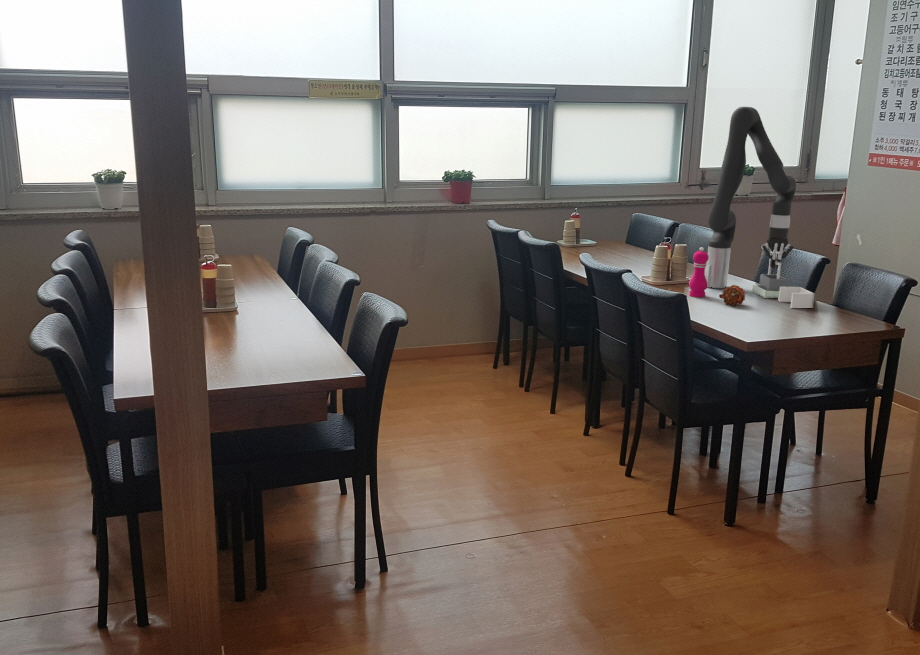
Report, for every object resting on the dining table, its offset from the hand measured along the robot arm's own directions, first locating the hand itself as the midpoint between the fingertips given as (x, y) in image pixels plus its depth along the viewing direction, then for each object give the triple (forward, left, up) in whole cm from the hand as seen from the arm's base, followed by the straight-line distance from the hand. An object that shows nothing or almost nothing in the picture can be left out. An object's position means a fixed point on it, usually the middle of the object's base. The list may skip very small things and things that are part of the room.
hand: (774, 268), depth 328 cm
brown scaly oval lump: (-23, -19, -12) cm, 32 cm away
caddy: (0, 0, -9) cm, 9 cm away
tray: (0, 0, -11) cm, 11 cm away
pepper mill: (-32, -4, -12) cm, 34 cm away
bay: (+2, -18, -11) cm, 21 cm away
